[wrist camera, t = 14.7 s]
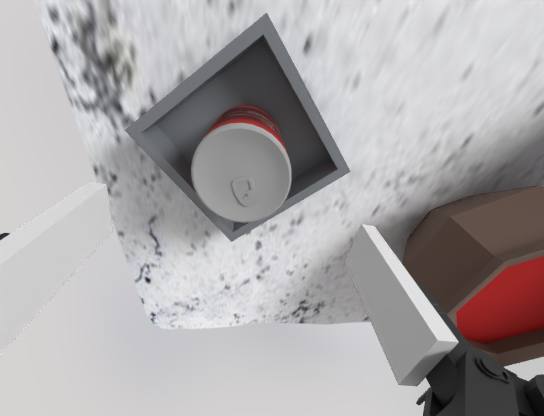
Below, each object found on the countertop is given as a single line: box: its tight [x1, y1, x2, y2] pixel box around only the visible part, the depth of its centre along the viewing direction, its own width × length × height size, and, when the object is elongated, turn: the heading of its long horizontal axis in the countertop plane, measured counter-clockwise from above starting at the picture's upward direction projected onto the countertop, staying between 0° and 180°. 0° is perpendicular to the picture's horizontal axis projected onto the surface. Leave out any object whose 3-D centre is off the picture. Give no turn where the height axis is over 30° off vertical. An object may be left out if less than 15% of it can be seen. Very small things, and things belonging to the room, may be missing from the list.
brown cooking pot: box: [402, 186, 544, 377], centre depth 31 cm, size 24×24×16 cm
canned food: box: [191, 105, 291, 223], centre depth 23 cm, size 8×8×11 cm
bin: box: [125, 13, 350, 242], centre depth 27 cm, size 16×16×5 cm
